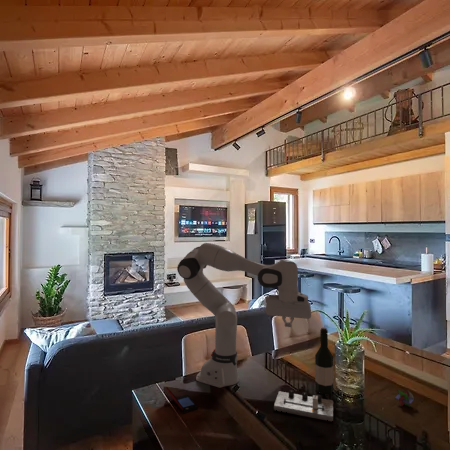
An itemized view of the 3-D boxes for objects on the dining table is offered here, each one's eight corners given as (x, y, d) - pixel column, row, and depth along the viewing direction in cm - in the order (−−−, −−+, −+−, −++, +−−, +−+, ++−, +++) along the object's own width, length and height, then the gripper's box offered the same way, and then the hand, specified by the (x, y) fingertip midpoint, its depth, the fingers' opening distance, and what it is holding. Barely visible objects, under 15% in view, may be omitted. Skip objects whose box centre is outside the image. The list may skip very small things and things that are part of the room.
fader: (312, 408, 130) (312, 398, 130) (313, 404, 133) (313, 394, 133) (317, 409, 129) (317, 399, 129) (317, 405, 132) (317, 395, 132)
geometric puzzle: (404, 407, 131) (411, 390, 133) (389, 400, 137) (396, 383, 140) (412, 414, 133) (419, 397, 136) (397, 406, 140) (404, 390, 142)
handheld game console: (199, 409, 133) (199, 392, 133) (175, 416, 127) (175, 398, 127) (187, 396, 143) (187, 380, 144) (165, 402, 138) (165, 385, 138)
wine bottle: (334, 395, 145) (334, 331, 146) (316, 393, 146) (315, 330, 148) (332, 387, 153) (331, 326, 154) (314, 385, 154) (314, 325, 156)
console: (274, 410, 132) (274, 400, 132) (279, 395, 144) (279, 386, 145) (333, 421, 124) (332, 411, 124) (333, 405, 136) (332, 395, 137)
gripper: (264, 295, 140) (264, 326, 139) (310, 298, 133) (310, 331, 133) (266, 293, 146) (266, 322, 145) (311, 296, 139) (311, 327, 139)
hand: (288, 326), depth 139 cm, fingers closed
